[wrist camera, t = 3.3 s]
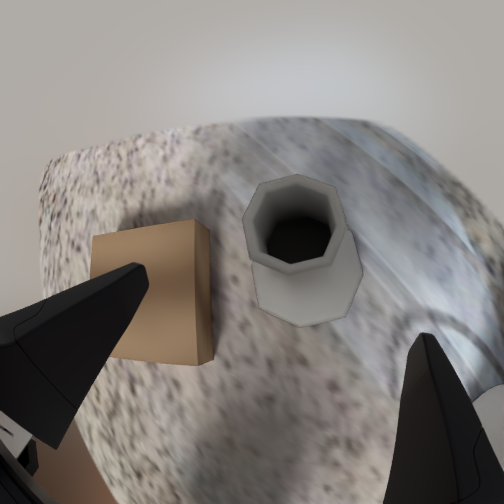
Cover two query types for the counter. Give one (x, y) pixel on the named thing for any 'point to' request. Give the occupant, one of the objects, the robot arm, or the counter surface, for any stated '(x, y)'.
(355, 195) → the counter surface
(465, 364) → the counter surface
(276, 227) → the flask
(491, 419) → the pill bottle
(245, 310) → the counter surface
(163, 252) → the square wooden block
